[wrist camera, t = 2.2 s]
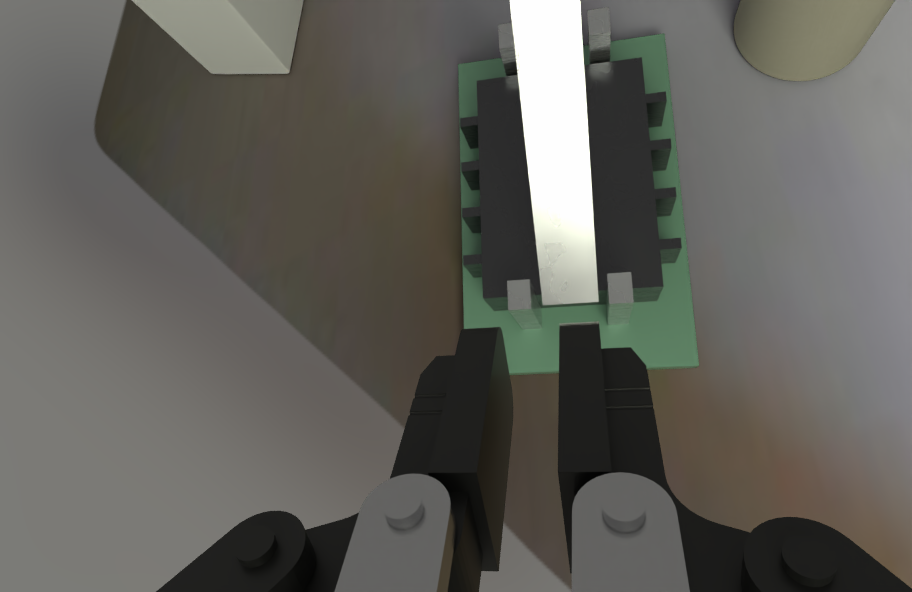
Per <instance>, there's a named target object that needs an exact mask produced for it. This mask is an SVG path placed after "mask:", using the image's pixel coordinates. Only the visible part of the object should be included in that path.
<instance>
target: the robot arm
mask: <svg viewBox="0 0 912 592" xmlns="http://www.w3.org/2000/svg"><path fill="white" fill-rule="evenodd" d="M512 425H513V396H512V387H511V381H510V375H509V369H508V363H507V357H506V350H505V344H504V338H503V333H502V329H501V327H488V328H470V329H462V330H461V333H460V337H459V341H458V345H457V350H456V354H455V355H454V356H436V357H435V359H434V360H433V361H432V362H431V363H430V364H429V365H428V367H427V368H426V369H425V370H424V371H423V372H422V374H421V375H420V379H419V382H418V385H417V389H416V392H415V399H413V402H412V406H411V409H410V415H409V416H408V419H407V423H406V426H405V430H404V433H403V436H402V440H401V443H400V447H399V450H398V453H397V457H396V460H395V464H394V467H393V471H392V474H391V477H390V479H389V480H387V481H385V482H383V483H382V484H380V485H379V486H377V487H376V488H375V489H374V490H373V491H372V492H371V493H370V494H369V495H368V496H367V498H366V499H365V501H364V502H363V504H362V507H361V509H360V511H359V513H357V514H355V515H353V516H351V517H349V518H345V519H343V520H339V521H336V522H332V523H329V524H325V525H321V526H318V527H314V528H311V529H307V530H305V529H304V526H303V525H302V523H301V521H300V520H299V519H298V518H297V517H296V516H294V515H292V514H290V513H288V512H283V511H268V512H263V513H260V514H257V515H254V516H252V517H250V518H248V519H246V520H244V521H242V522H241V523H239V524H238V525H237V526H235V527H234V528H233V529H232V530H230V531H229V532H228V533H227V534H225V535H224V536H223V537H222V538H221V539H219V540H218V541H217V542H216V543H215V544H213V545H212V546H211V547H210V548H209V549H207V550H206V551H205V552H204V553H203V554H201V555H200V556H199V557H198V558H196V559H195V560H194V561H193V562H192V563H190V564H189V565H188V566H187V567H186V568H184V569H183V570H182V571H181V572H179V573H178V574H177V575H176V576H175V577H174V578H172V579H171V580H170V581H169V582H167V583H166V584H165V585H164V586H163V587H161V588H160V589H159V590H158V591H156V592H479V585H480V577H481V571H499V561H500V550H501V540H502V529H503V519H504V509H505V498H506V488H507V477H508V467H509V456H510V446H511V435H512ZM558 476H559V484H560V492H561V500H562V508H563V516H564V524H565V532H566V541H567V549H568V557H569V565H570V573H572V592H912V589H911V588H910V587H909V586H908V585H906V584H905V583H904V582H903V581H901V580H900V579H899V578H898V577H896V576H895V575H894V574H893V573H891V572H890V571H889V570H888V569H886V568H885V567H884V566H883V565H881V564H880V563H879V562H878V561H876V560H875V559H874V558H873V557H871V556H870V555H869V554H868V553H866V552H865V551H864V550H863V549H861V548H860V547H859V546H858V545H856V544H855V543H854V542H853V541H851V540H850V539H849V538H847V537H846V536H844V535H843V534H842V533H840V532H838V531H837V530H835V529H833V528H831V527H829V526H827V525H824V524H822V523H820V522H816V521H813V520H809V519H804V518H798V517H782V518H775V519H772V520H768V521H766V522H764V523H762V524H760V525H759V526H757V527H756V528H754V529H753V531H752V532H751V533H749V532H746V531H742V530H739V529H735V528H732V527H728V526H724V525H721V524H718V523H715V522H712V521H709V520H707V519H705V518H702V517H700V516H698V515H697V514H695V513H693V512H692V511H690V510H689V509H688V508H686V507H685V506H684V505H683V504H682V503H681V502H680V501H679V500H678V499H677V498H676V497H675V496H674V494H673V493H672V491H671V490H670V488H669V486H668V484H667V480H666V477H665V472H664V466H663V460H662V454H661V448H660V443H659V437H658V431H657V425H656V420H655V414H654V409H653V402H652V397H651V391H650V385H649V379H648V374H647V368H646V365H645V363H644V362H643V361H642V360H641V359H640V358H639V356H638V355H637V354H636V353H635V352H634V350H633V349H632V348H631V347H624V348H603V349H601V339H600V327H599V321H595V322H577V323H560V326H559V425H558Z"/></svg>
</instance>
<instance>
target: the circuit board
mask: <svg viewBox="0 0 912 592" xmlns="http://www.w3.org/2000/svg"><path fill="white" fill-rule="evenodd" d="M583 57H584V65H589V47H588V45H584V46H583ZM639 57H642V63H643V74H644V84H645V94H650V93H657V92H665V91H666V98H667V102H666V107H665V112H664V117H663V122H662V126H659V127H651V128H649V137H650V141H652V140H661V139H669V138H671V147H672V149H671V152H670V156H669V160H668V164H667V168H666V170H664V171H654V172H653V180H654V189H661V188H671V187H676V195H677V198H676V201H675V204H674V207H673V210H672V213H671V216H662V217H657V222H658V233H659V239H670V238H681V244H682V249H681V251H680V253H679V256H678V258H677V260H676V262H675V263H667V264H662V275H663V286H664V287H663V289H662V291H661V293H660V296H659V298H658V300H657V301H651V302H635V303H633V307H632V311H631V315H630V319H629V323H628V324H618V325H608V320H607V306H606V304H602V305H586V306H570V307H554V308H541V314H542V329H527V330H523V329H522V328H521V326H520V325H519V324H518V322H517V321H516V320H515V318H514V317H513V316H512V315H511V313H510V312H509V311H508V310H505V311H494V310H493V309H492V308H491V307H490V306H489V305H488V304H487V303H486V301H485V300H484V299H483V285H482V277H478V278H473V276H472V275H471V274H470V273H469V271H468V270H467V269H466V268H465V267H464V265H463V305H464V329H470V328H488V327H501V329H502V333H503V338H504V344H505V350H506V357H507V363H508V369H509V375H524V374H550V373H559V326H560V323H577V322H595V321H599V327H600V339H601V349H603V348H624V347H631V348H632V349H633V350H634V352H635V353H636V354H637V355H638V356H639V358H640V359H641V360H642V361H643V362H644V363H645V365H646V368H647V370H651V369H676V368H696V367H698V366H699V361H698V352H697V342H696V332H695V323H694V313H693V304H692V294H691V284H690V275H689V265H688V256H687V246H686V236H685V227H684V217H683V208H682V198H681V188H680V179H679V169H678V160H677V150H676V140H675V131H674V121H673V112H672V102H671V92H670V83H669V73H668V64H667V54H666V44H665V35H664V34H658V35H651V36H644V37H638V38H631V39H624V40H617V41H611V42H610V62H611V61H618V60H625V59H632V58H639ZM499 77H506V73H505V69H504V65H503V61H502V58H497V59H490V60H484V61H477V62H470V63H464V64H458V79H459V124H460V118H466V117H473V116H478V113H477V81H478V80H485V79H492V78H499ZM478 160H479V148H475V149H470V147H469V145H468V143H467V141H466V138H465V136H464V134H463V132H462V130H461V128H460V170H461V162H469V161H478ZM479 206H480V190H472V191H471V189H470V187H469V185H468V183H467V181H466V179H465V178H464V176H463V174H462V172H461V215H462V208H469V207H479ZM475 254H482V250H481V233H472V232H471V230H470V229H469V227H468V226H467V224H466V223H465V221H464V219H463V218H462V260H463V255H475Z"/></svg>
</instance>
